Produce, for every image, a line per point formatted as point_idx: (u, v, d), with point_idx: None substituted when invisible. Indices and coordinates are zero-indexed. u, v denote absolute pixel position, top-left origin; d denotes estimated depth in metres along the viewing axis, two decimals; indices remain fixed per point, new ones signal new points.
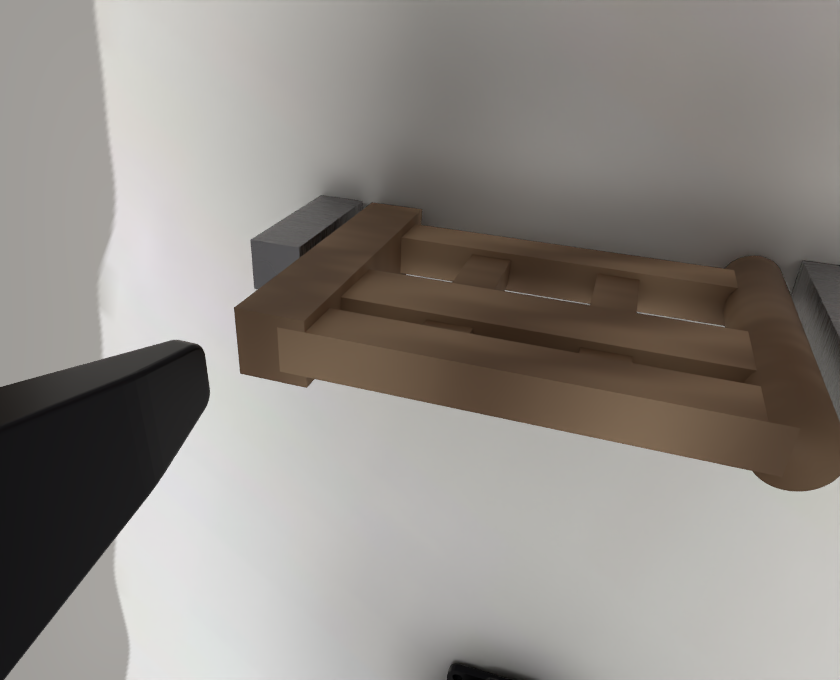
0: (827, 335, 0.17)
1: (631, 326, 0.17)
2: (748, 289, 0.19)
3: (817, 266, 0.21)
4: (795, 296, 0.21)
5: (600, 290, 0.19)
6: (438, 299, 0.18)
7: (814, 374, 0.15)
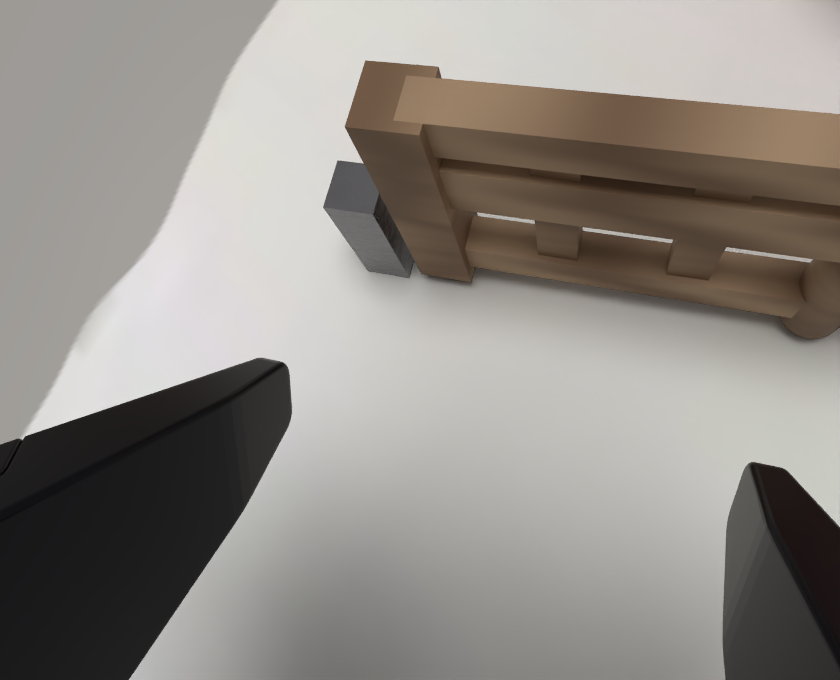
0: None
1: None
2: None
3: None
4: None
5: None
6: None
7: None
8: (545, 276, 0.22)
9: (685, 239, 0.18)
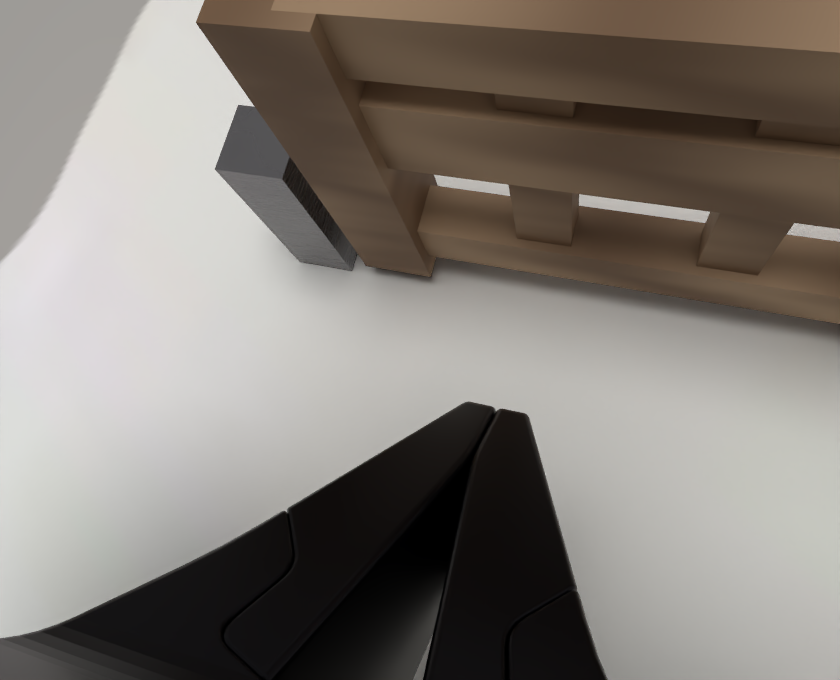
0: None
1: None
2: None
3: None
4: None
5: None
6: None
7: None
8: (528, 269, 0.17)
9: (733, 211, 0.12)
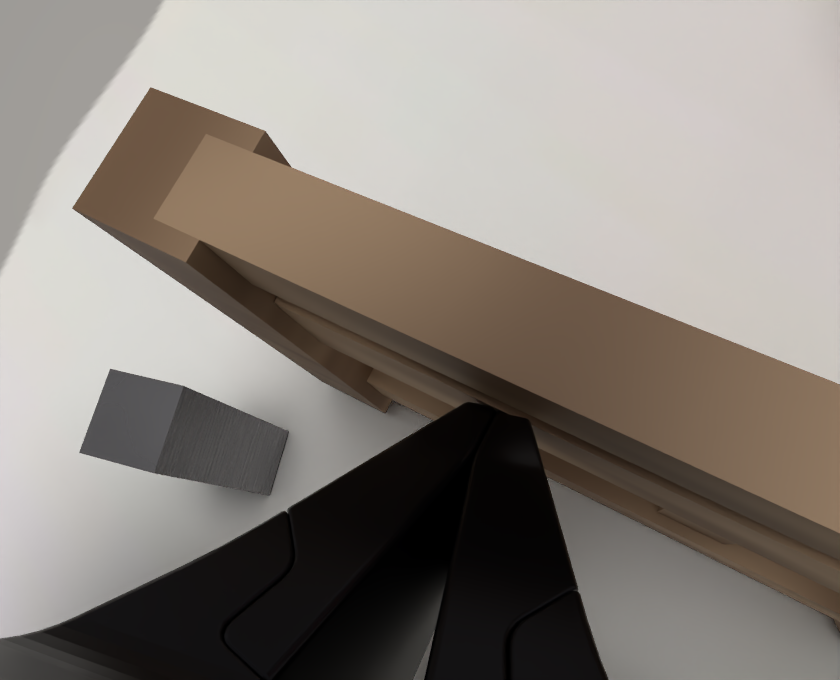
0: None
1: None
2: None
3: None
4: None
5: None
6: None
7: None
8: None
9: (685, 518, 0.10)
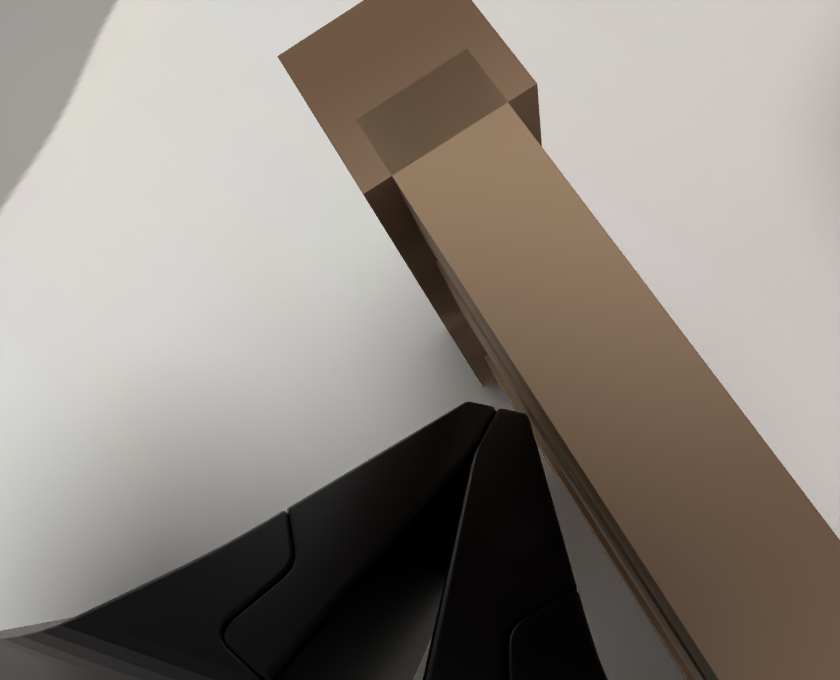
0: None
1: None
2: None
3: None
4: None
5: None
6: None
7: None
8: (561, 482, 0.13)
9: None
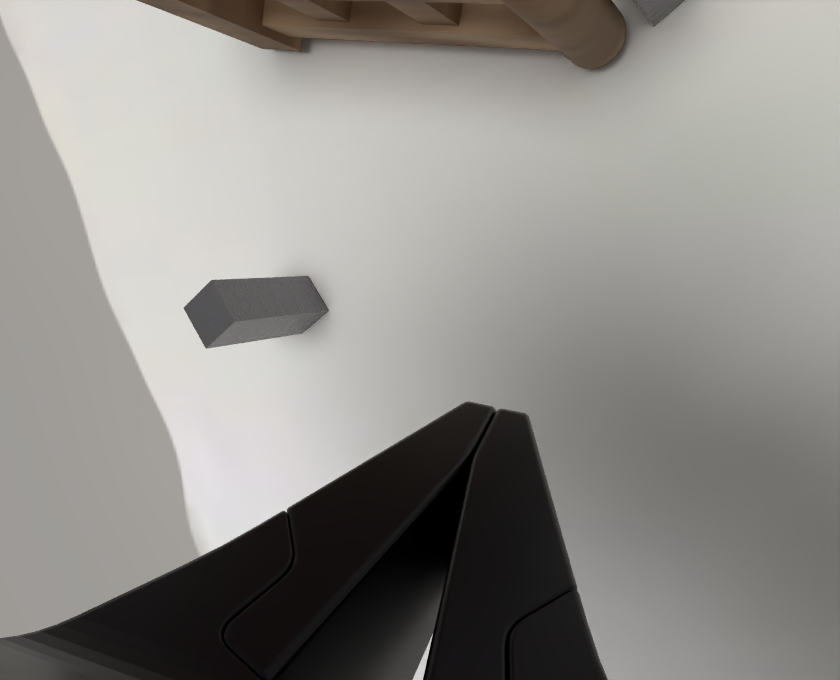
0: None
1: None
2: None
3: None
4: (639, 8, 0.19)
5: None
6: None
7: None
8: (345, 38, 0.23)
9: None
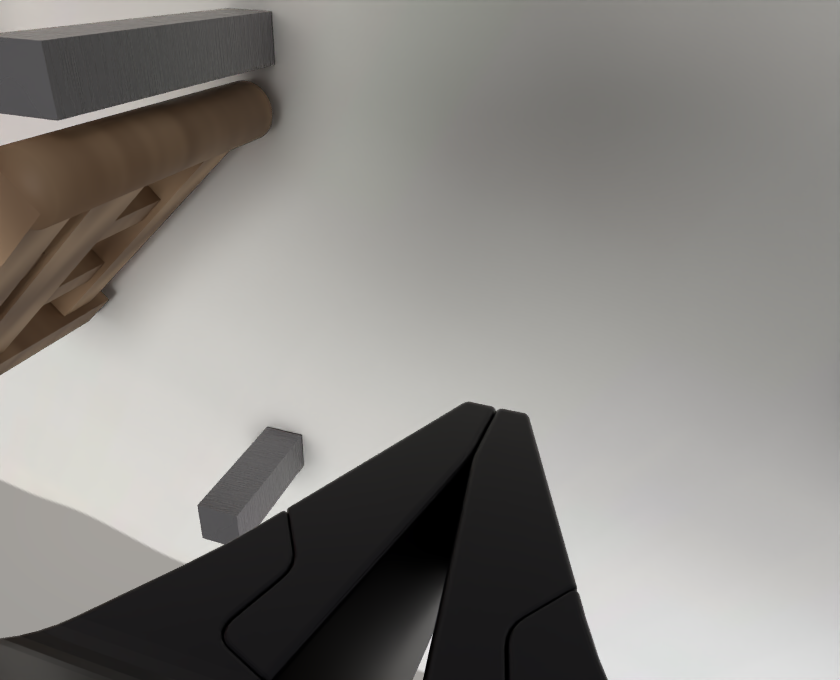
0: None
1: None
2: None
3: None
4: None
5: None
6: None
7: (73, 126, 0.16)
8: (119, 268, 0.26)
9: (84, 254, 0.20)
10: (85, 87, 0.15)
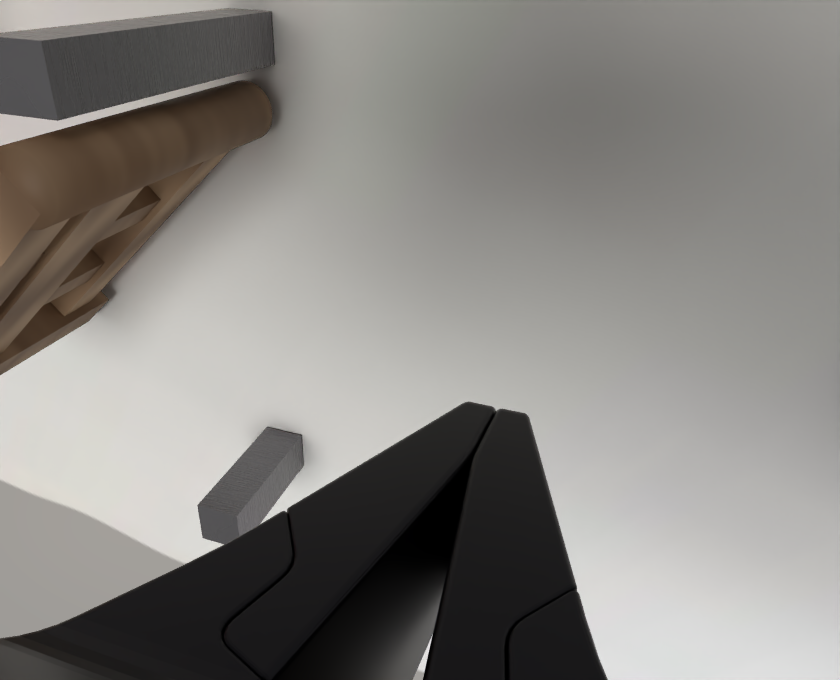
0: None
1: None
2: None
3: None
4: None
5: None
6: None
7: (73, 126, 0.16)
8: (119, 268, 0.26)
9: (84, 254, 0.20)
10: (85, 87, 0.15)
